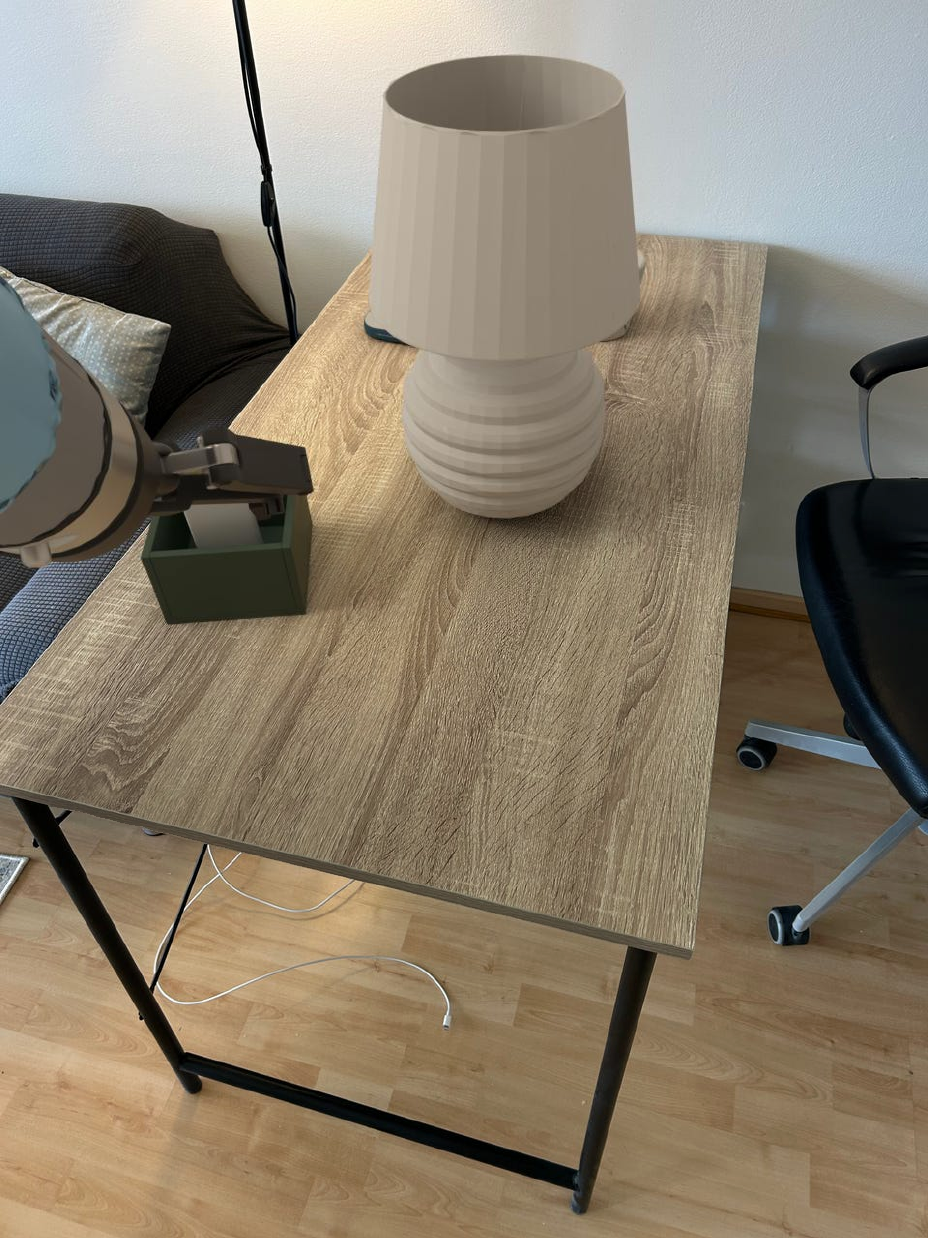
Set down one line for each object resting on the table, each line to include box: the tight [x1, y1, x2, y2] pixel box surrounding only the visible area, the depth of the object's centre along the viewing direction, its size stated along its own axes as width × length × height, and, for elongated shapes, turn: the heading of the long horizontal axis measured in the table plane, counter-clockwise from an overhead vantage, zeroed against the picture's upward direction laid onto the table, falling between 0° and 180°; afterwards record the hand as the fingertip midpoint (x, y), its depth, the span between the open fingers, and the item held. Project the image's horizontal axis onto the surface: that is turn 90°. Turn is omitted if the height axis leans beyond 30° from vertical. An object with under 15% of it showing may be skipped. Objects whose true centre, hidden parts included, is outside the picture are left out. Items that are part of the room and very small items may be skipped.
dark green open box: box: [140, 494, 314, 625], centre depth 89 cm, size 14×14×9 cm
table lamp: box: [367, 53, 641, 520], centre depth 86 cm, size 25×25×40 cm
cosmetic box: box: [184, 503, 264, 549], centre depth 87 cm, size 6×4×12 cm
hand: (150, 517), depth 55 cm, fingers open, 13 cm apart
